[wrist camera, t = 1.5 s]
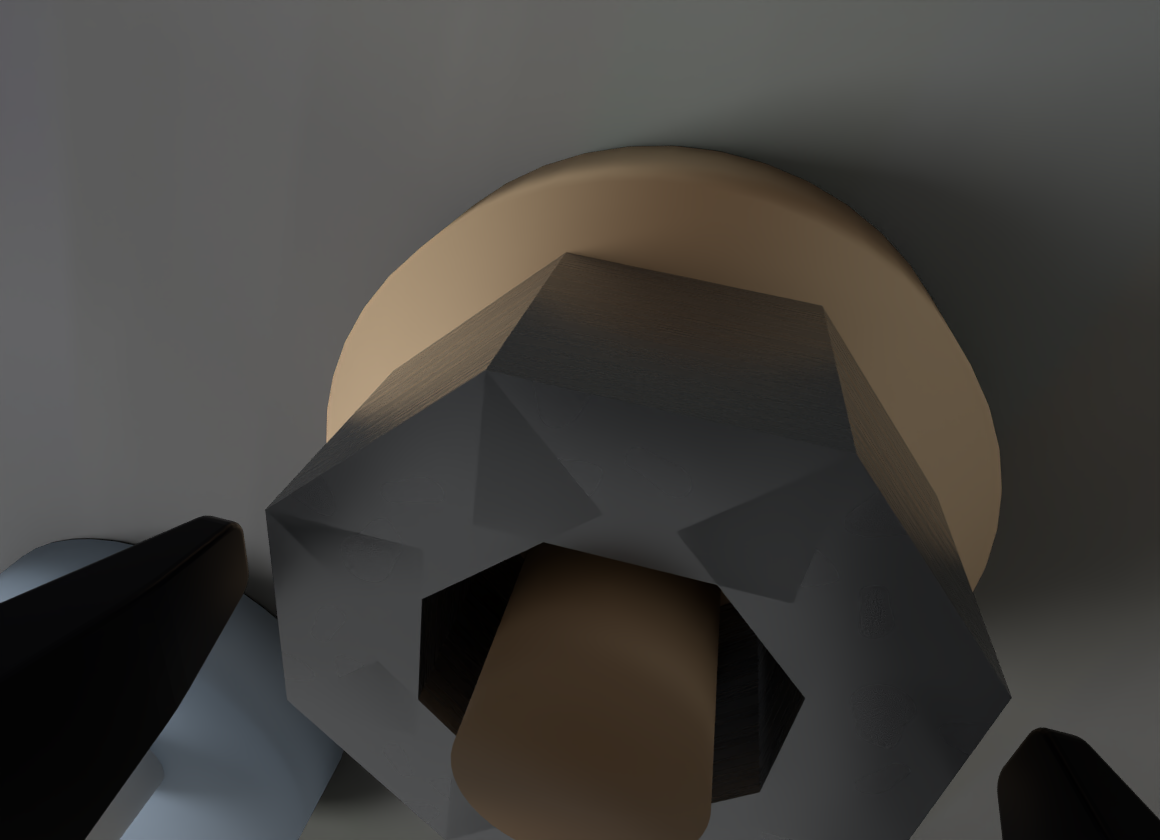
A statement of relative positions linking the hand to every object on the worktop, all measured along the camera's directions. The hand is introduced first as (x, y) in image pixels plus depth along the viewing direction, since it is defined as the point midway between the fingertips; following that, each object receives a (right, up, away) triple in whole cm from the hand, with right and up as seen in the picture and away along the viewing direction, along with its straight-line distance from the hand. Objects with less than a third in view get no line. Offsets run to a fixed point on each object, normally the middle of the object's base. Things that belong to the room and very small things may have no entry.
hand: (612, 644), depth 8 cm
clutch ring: (0, +1, +2) cm, 2 cm away
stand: (+1, +2, +4) cm, 4 cm away
